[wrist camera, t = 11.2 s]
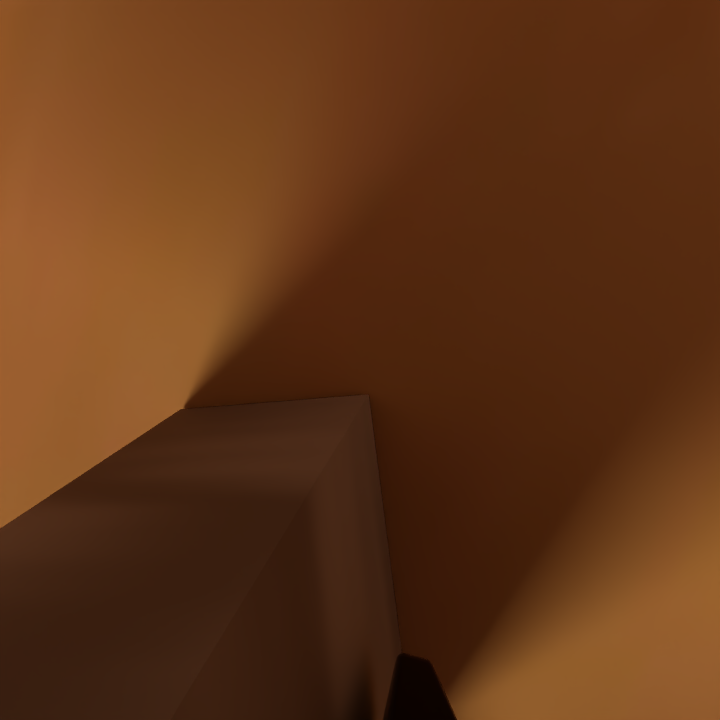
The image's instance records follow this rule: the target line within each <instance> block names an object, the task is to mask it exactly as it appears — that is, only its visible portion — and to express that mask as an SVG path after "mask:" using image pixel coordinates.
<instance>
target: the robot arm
mask: <svg viewBox="0 0 720 720" xmlns="http://www.w3.org/2000/svg"><path fill="white" fill-rule="evenodd" d="M383 720H457V718H456V716H455V714H454V712H453V710H452V707H451V705H450V703H449V701H448V699H447V696H446V694H445V692H444V690H443V688H442V685H441V683H440V681H439V679H438V676H437V674H436V672H435V670H434V668H433V665H432V663H431V662H430V661H429V660H427V659H424V658H420V657H416V656H413V655H409V654H405V653H400V654H399V655H398V656H397V658H396V661H395V666H394V670H393V675H392V679H391V684H390V688H389V693H388V697H387V702H386V707H385V711H384V716H383Z"/></svg>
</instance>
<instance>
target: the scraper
mask: <svg viewBox="0 0 720 720" xmlns="http://www.w3.org/2000/svg"><path fill="white" fill-rule="evenodd" d="M400 653H402V649H401V641H400V634H399V626H398V618H397V610H396V602H395V595H394V587H393V579H392V571H391V564H390V556H389V548H388V540H387V532H386V525H385V517H384V509H383V501H382V493H381V486H380V478H379V470H378V462H377V455H376V447H375V439H374V431H373V423H372V416H371V408H370V400H369V394H367V395H354V396H342V397H329V398H316V399H304V400H291V401H278V402H266V403H253V404H241V405H228V406H215V407H203V408H190V409H181V410H179V411H178V412H176V413H174V414H173V415H171V416H170V417H168V418H167V419H165V420H164V421H162V422H161V423H159V424H158V425H156V426H155V427H153V428H152V429H150V430H149V431H147V432H146V433H144V434H143V435H141V436H140V437H138V438H137V439H135V440H134V441H132V442H131V443H129V444H128V445H126V446H125V447H123V448H122V449H120V450H119V451H117V452H115V453H114V454H112V455H111V456H109V457H108V458H106V459H105V460H103V461H102V462H100V463H99V464H97V465H96V466H94V467H93V468H91V469H90V470H88V471H87V472H85V473H84V474H82V475H81V476H79V477H78V478H76V479H75V480H73V481H72V482H70V483H69V484H67V485H66V486H64V487H63V488H61V489H60V490H58V491H56V492H55V493H53V494H52V495H50V496H49V497H47V498H46V499H44V500H43V501H41V502H40V503H38V504H37V505H35V506H34V507H32V508H31V509H29V510H28V511H26V512H25V513H23V514H22V515H20V516H19V517H17V518H16V519H14V520H13V521H11V522H10V523H8V524H7V525H5V526H4V527H2V528H1V529H0V720H383V716H384V711H385V707H386V702H387V697H388V693H389V688H390V684H391V679H392V675H393V670H394V666H395V661H396V658H397V656H398V655H399V654H400Z"/></svg>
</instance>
